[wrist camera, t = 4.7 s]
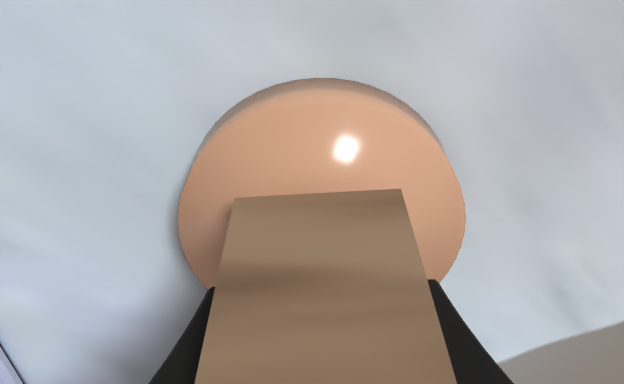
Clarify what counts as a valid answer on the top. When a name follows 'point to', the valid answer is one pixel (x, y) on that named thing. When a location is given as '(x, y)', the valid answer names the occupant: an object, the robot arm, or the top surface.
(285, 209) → the walnut block
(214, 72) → the top surface
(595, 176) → the top surface
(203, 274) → the tan flattened disc
